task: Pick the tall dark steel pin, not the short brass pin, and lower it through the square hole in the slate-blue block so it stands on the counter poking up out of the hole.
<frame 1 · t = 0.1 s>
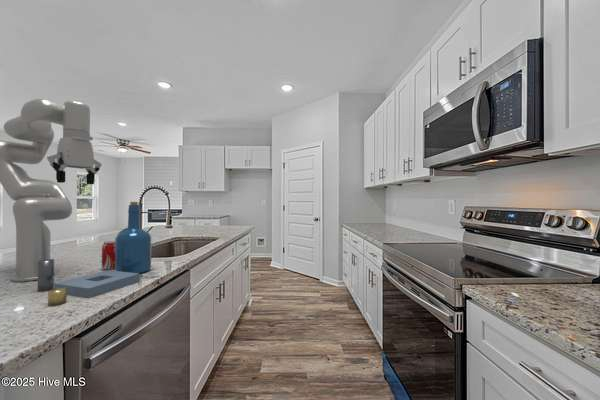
hand: (76, 183, 98), 37 cm above the worktop, tool pointing down, fingers open, 9 cm apart
wine bottle: (133, 272, 114), on the worktop
short brass pin: (57, 303, 78), on the worktop
soda can: (111, 269, 119), on the worktop
sleeve block: (99, 286, 94), on the worktop
tall steel pin: (45, 289, 90), on the worktop
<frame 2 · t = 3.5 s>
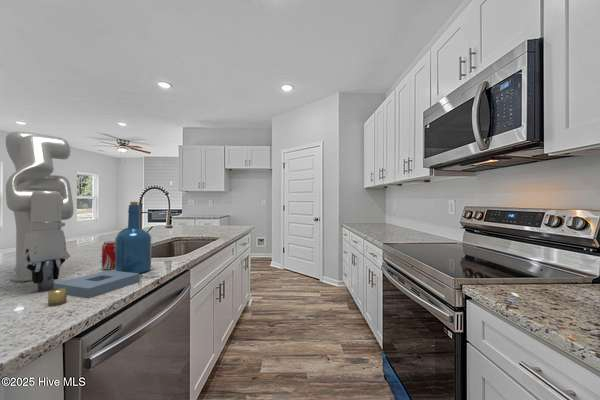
hand: (45, 280, 90), 3 cm above the worktop, tool pointing down, fingers closed on tall steel pin, 4 cm apart
tall steel pin: (45, 289, 90), on the worktop, touching gripper
everything else where it was.
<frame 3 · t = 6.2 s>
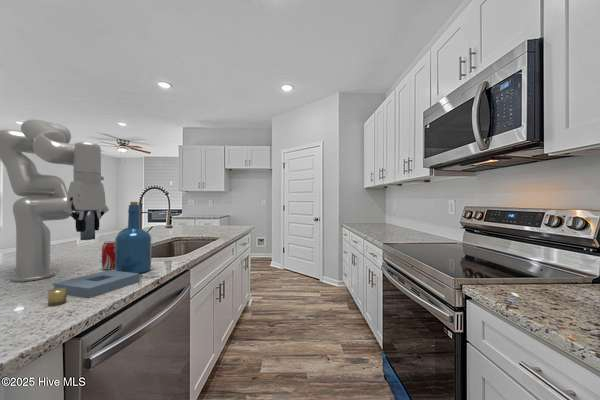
hand: (87, 230, 93), 20 cm above the worktop, tool pointing down, fingers closed on tall steel pin, 4 cm apart
tall steel pin: (87, 239, 93), point 17 cm above the worktop, touching gripper
everything else where it was.
when the fingers open (5 cm above the worktop, at t = 8.9 s): tall steel pin drops 1 cm, resting in sleeve block.
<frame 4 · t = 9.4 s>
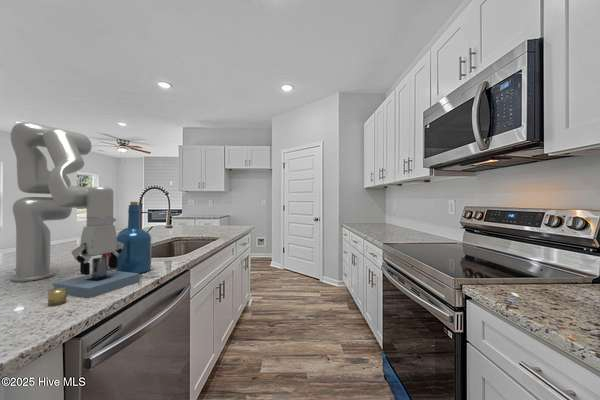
hand: (99, 270, 94), 6 cm above the worktop, tool pointing down, fingers open, 9 cm apart
tall steel pin: (99, 286, 94), resting in sleeve block
everything else where it was.
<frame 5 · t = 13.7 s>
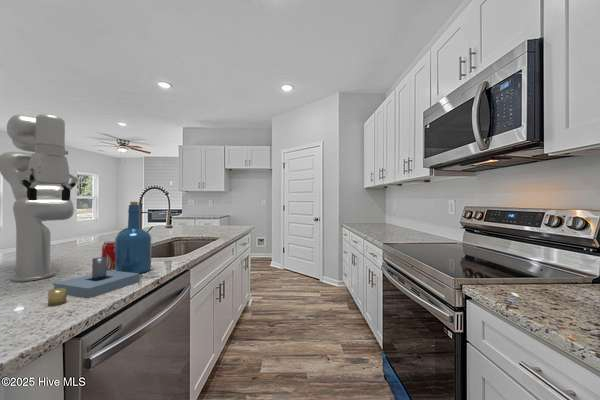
hand: (49, 200, 93), 30 cm above the worktop, tool pointing down, fingers open, 9 cm apart
nothing on the worktop moved.
at the end: tall steel pin 0.1 cm off-centre on the sleeve block, point 0.0 cm above the sleeve block's base; tall steel pin tilted 0°; short brass pin moved 0.1 cm from its start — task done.
